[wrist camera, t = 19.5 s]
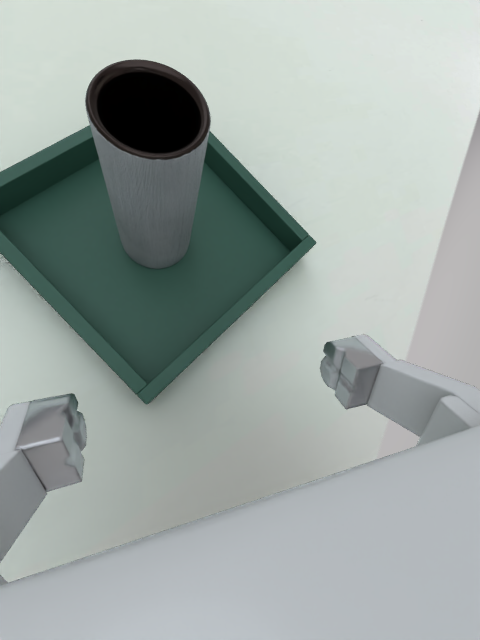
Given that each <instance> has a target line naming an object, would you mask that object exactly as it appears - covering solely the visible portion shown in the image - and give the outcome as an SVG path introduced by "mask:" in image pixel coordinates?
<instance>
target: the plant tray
mask: <svg viewBox="0 0 480 640" xmlns="http://www.w3.org/2000/svg"><path fill="white" fill-rule="evenodd" d="M308 235H309V234H308V233H307V232H306V231H305V230H304V229H303V228H302V227H301V226H300V225H299V224H298V223H297V222H296V220H295V219H294V218H293V217H292V216H291V215H290V214H289V213H288V212H287V211H286V210H285V209H284V208H283V207H282V206H281V205H280V204H279V203H278V202H277V201H276V200H275V199H274V198H273V196H272V195H271V194H270V193H269V192H268V191H267V190H266V189H265V188H264V187H263V186H262V185H261V184H260V183H259V182H258V181H257V180H256V179H255V178H254V177H253V176H252V175H251V174H250V172H249V171H248V170H247V169H246V168H245V167H244V166H243V165H242V164H241V163H240V162H239V161H238V160H237V159H236V158H235V157H234V156H233V155H232V154H231V153H230V152H229V151H228V150H227V149H226V147H225V146H224V145H223V144H222V143H221V142H220V141H219V140H218V139H217V138H216V137H215V136H214V135H213V134H212V133H211V132H210V131H209V137H208V142H207V148H206V153H205V159H204V165H203V170H202V176H201V181H200V187H199V192H198V198H197V203H196V209H195V214H194V220H193V225H192V231H191V237H190V242H189V246H188V249H187V252H186V253H185V255H184V257H183V258H182V259H181V260H180V261H179V262H177V263H176V264H174V265H172V266H170V267H166V268H160V269H154V268H148V267H145V266H142V265H140V264H138V263H136V262H135V261H134V260H132V259H131V258H130V257H129V256H128V254H127V253H126V252H125V250H124V248H123V245H122V243H121V239H120V236H119V232H118V228H117V224H116V221H115V217H114V213H113V209H112V206H111V202H110V198H109V194H108V191H107V187H106V183H105V179H104V176H103V172H102V168H101V164H100V161H99V157H98V153H97V149H96V146H95V142H94V138H93V134H92V131H91V127H90V125H89V126H87V127H85V128H84V129H82V130H80V131H78V132H76V133H74V134H72V135H70V136H68V137H66V138H64V139H63V140H61V141H59V142H57V143H55V144H53V145H51V146H49V147H47V148H45V149H44V150H42V151H40V152H38V153H36V154H34V155H32V156H30V157H28V158H26V159H24V160H23V161H21V162H19V163H17V164H15V165H13V166H11V167H9V168H7V169H5V170H3V171H2V172H0V253H1V254H2V255H3V256H4V257H5V258H6V259H7V260H8V261H9V262H10V263H11V264H12V265H13V267H14V268H15V269H16V270H17V271H18V272H19V273H20V274H21V275H22V276H23V277H24V278H25V279H26V280H27V281H28V282H29V283H30V284H31V285H32V286H33V287H34V288H35V289H36V290H37V292H38V293H39V294H40V295H41V296H42V297H43V298H44V299H45V300H46V301H47V302H48V303H49V304H50V305H51V306H52V307H53V308H54V309H55V310H56V311H57V312H58V313H59V314H60V315H61V317H62V318H63V319H64V320H65V321H66V322H67V323H68V324H69V325H70V326H71V327H72V328H73V329H74V330H75V331H76V332H77V333H78V334H79V335H80V336H81V337H82V338H83V339H84V341H85V342H86V343H87V344H88V345H89V346H90V347H91V348H92V349H93V350H94V351H95V352H96V353H97V354H98V355H99V356H100V357H101V358H102V359H103V360H104V361H105V362H106V363H107V364H108V366H109V367H110V368H111V369H112V370H113V371H114V372H115V373H116V374H117V375H118V376H119V377H120V378H121V379H122V380H123V381H124V382H125V383H126V384H127V385H128V386H129V387H130V388H131V389H132V391H133V392H134V393H135V394H137V395H138V397H139V398H140V399H141V400H142V401H143V402H144V403H145V404H149V403H150V402H151V401H152V400H153V399H154V398H155V397H156V396H157V395H158V394H159V393H160V392H161V391H162V390H164V389H165V388H166V387H167V386H168V385H169V384H170V383H171V382H172V381H173V380H174V379H175V378H176V377H177V376H178V375H179V374H180V373H181V372H182V371H183V370H184V369H186V368H187V367H188V366H189V365H190V364H191V363H192V362H193V361H194V360H195V359H196V358H197V357H198V356H199V355H200V354H201V353H202V352H203V351H204V350H205V349H206V348H208V347H209V346H210V345H211V344H212V343H213V342H214V341H215V340H216V339H217V338H218V337H219V336H220V335H221V334H222V333H223V332H224V331H225V330H226V329H227V328H228V327H230V326H231V325H232V324H233V323H234V322H235V321H236V320H237V319H238V318H239V317H240V316H241V315H242V314H243V313H244V312H245V311H246V310H247V309H248V308H249V307H251V306H252V305H253V304H254V303H255V302H256V301H257V300H258V299H259V298H260V297H261V296H262V295H263V294H264V293H265V292H266V291H267V290H268V289H269V288H270V287H271V286H273V285H274V284H275V283H276V282H277V281H278V280H279V279H280V278H281V277H282V276H283V275H284V274H285V273H286V272H287V271H288V270H289V269H290V268H291V267H292V266H293V265H295V264H296V263H297V262H298V261H299V260H300V259H301V258H302V257H303V256H304V255H305V254H306V253H307V252H308V251H309V250H310V249H311V248H312V247H313V246H314V245H315V244H316V241H315V240H314V239H313V238H312V237H311V236H310V235H309V236H308Z"/></svg>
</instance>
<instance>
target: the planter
mask: <svg viewBox="0 0 480 640" xmlns="http://www.w3.org/2000/svg"><path fill="white" fill-rule="evenodd" d="M85 103H86V111H87V115H88V119H89V123H90V127H91V131H92V134H93V138H94V142H95V146H96V149H97V153H98V157H99V161H100V164H101V168H102V172H103V176H104V179H105V183H106V187H107V191H108V194H109V198H110V202H111V206H112V209H113V213H114V217H115V221H116V224H117V228H118V232H119V236H120V239H121V243H122V245H123V248H124V250H125V252H126V253H127V254H128V256H129V257H130V258H131V259H132V260H134V261H135V262H136V263H138V264H140V265H142V266H145V267H148V268H154V269H160V268H166V267H170V266H172V265H174V264H176V263H177V262H179V261H180V260H181V259H182V258H183V257H184V255H185V253H186V252H187V249H188V246H189V242H190V237H191V231H192V225H193V220H194V214H195V209H196V203H197V198H198V192H199V187H200V181H201V176H202V170H203V165H204V159H205V153H206V148H207V142H208V137H209V131H210V123H211V119H210V112H209V108H208V105H207V102H206V100H205V98H204V97H203V95H202V93H201V92H200V90H199V89H198V88H197V87H196V86H195V85H194V84H193V83H192V82H191V81H190V80H189V79H188V78H187V77H186V76H184V75H183V74H181V73H180V72H178V71H176V70H175V69H173V68H171V67H168V66H166V65H163V64H160V63H157V62H153V61H148V60H125V61H120V62H116V63H114V64H111V65H109V66H107V67H105V68H104V69H102V70H101V71H100V72H99V73H97V74H96V75H95V77H94V78H93V79H92V81H91V82H90V84H89V86H88V89H87V93H86V99H85Z"/></svg>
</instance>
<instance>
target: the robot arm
mask: <svg viewBox="0 0 480 640" xmlns="http://www.w3.org/2000/svg"><path fill="white" fill-rule="evenodd" d="M323 352H324V353H325V355H326V356H325V357H324V358H323V360H322V361H321V365H320V371H321V376H322V378H323V380H324V382H325V383H326V385H327V386H328V387H330V388H332V389H334V390H335V396H336V398H337V399H338V400H339V401H340V403H341V404H342V405H343V406H344V408H345V409H349V408H353V407H358V406H362V405H366V404H367V406H369V407H371V408H372V409H374V410H376V411H377V412H379V413H381V414H382V415H384V416H386V417H387V418H389V419H391V420H392V421H394V422H396V423H398V424H399V425H401V426H402V427H404V428H406V429H408V430H410V431H411V432H413V433H414V434H416V435H418V436H420V439H419V441H418V443H417V445H416V447H413V448H410V449H407V450H404V451H401V452H398V453H395V454H392V455H389V456H386V457H383V458H380V459H377V460H374V461H371V462H368V463H365V464H362V465H359V466H356V467H353V468H350V469H347V470H344V471H341V472H338V473H335V474H332V475H329V476H326V477H323V478H320V479H317V480H314V481H311V482H308V483H305V484H302V485H299V486H296V487H293V488H290V489H287V490H284V491H281V492H278V493H275V494H272V495H269V496H266V497H263V498H260V499H257V500H254V501H251V502H248V503H245V504H242V505H239V506H236V507H233V508H230V509H227V510H224V511H221V512H218V513H215V514H213V515H210V516H207V517H204V518H201V519H198V520H195V521H192V522H189V523H186V524H183V525H180V526H177V527H174V528H171V529H168V530H165V531H162V532H159V533H156V534H153V535H150V536H147V537H144V538H141V539H138V540H135V541H132V542H129V543H126V544H123V545H120V546H117V547H114V548H111V549H108V550H105V551H102V552H99V553H96V554H93V555H90V556H87V557H84V558H81V559H78V560H75V561H72V562H69V563H66V564H63V565H60V566H57V567H54V568H51V569H48V570H45V571H42V572H39V573H36V574H33V575H30V576H27V577H24V578H21V579H18V580H15V581H12V582H9V583H8V582H7V581H6V580H5V579H4V578H3V577H2V576H1V575H0V640H480V390H479V389H478V388H477V387H475V386H472V385H469V384H467V383H464V382H461V381H458V380H456V379H453V378H450V377H447V376H445V375H442V374H439V373H436V372H434V371H431V370H428V369H425V368H422V367H420V366H417V365H414V364H411V363H409V362H406V361H403V360H396V359H395V358H394V357H393V356H391V355H390V354H389V353H388V352H387V351H386V350H384V349H383V348H382V347H381V346H380V345H379V344H377V343H376V342H375V341H374V340H373V339H372V338H370V337H369V336H368V335H365V334H362V335H357V336H353V337H349V338H344V339H340V340H335V341H330V342H327V343H326V344H325V346H324V350H323ZM77 407H78V401H77V399H76V397H75V395H74V394H72V393H71V394H66V395H60V396H55V397H49V398H43V399H38V400H33V401H29V402H23V403H18V404H12V405H11V406H10V407H9V408H8V409H7V411H6V413H5V416H4V418H3V421H2V423H1V426H0V562H1V561H2V559H3V558H4V556H5V555H6V553H7V552H8V551H9V549H10V548H11V546H12V545H13V543H14V542H15V540H16V539H17V537H18V536H19V534H20V533H21V532H22V530H23V529H24V527H25V526H26V524H27V523H28V521H29V520H30V518H31V517H32V515H33V514H34V513H35V511H36V510H37V508H38V507H39V505H40V504H41V502H42V501H43V499H44V498H45V496H46V495H47V492H48V491H52V490H55V489H58V488H62V487H65V486H68V485H72V484H75V483H78V482H82V476H83V468H84V457H83V455H82V453H81V451H82V450H83V449H84V448H85V446H86V439H87V433H86V424H85V419H84V417H83V414H82V413H80V412H78V411H77Z"/></svg>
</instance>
